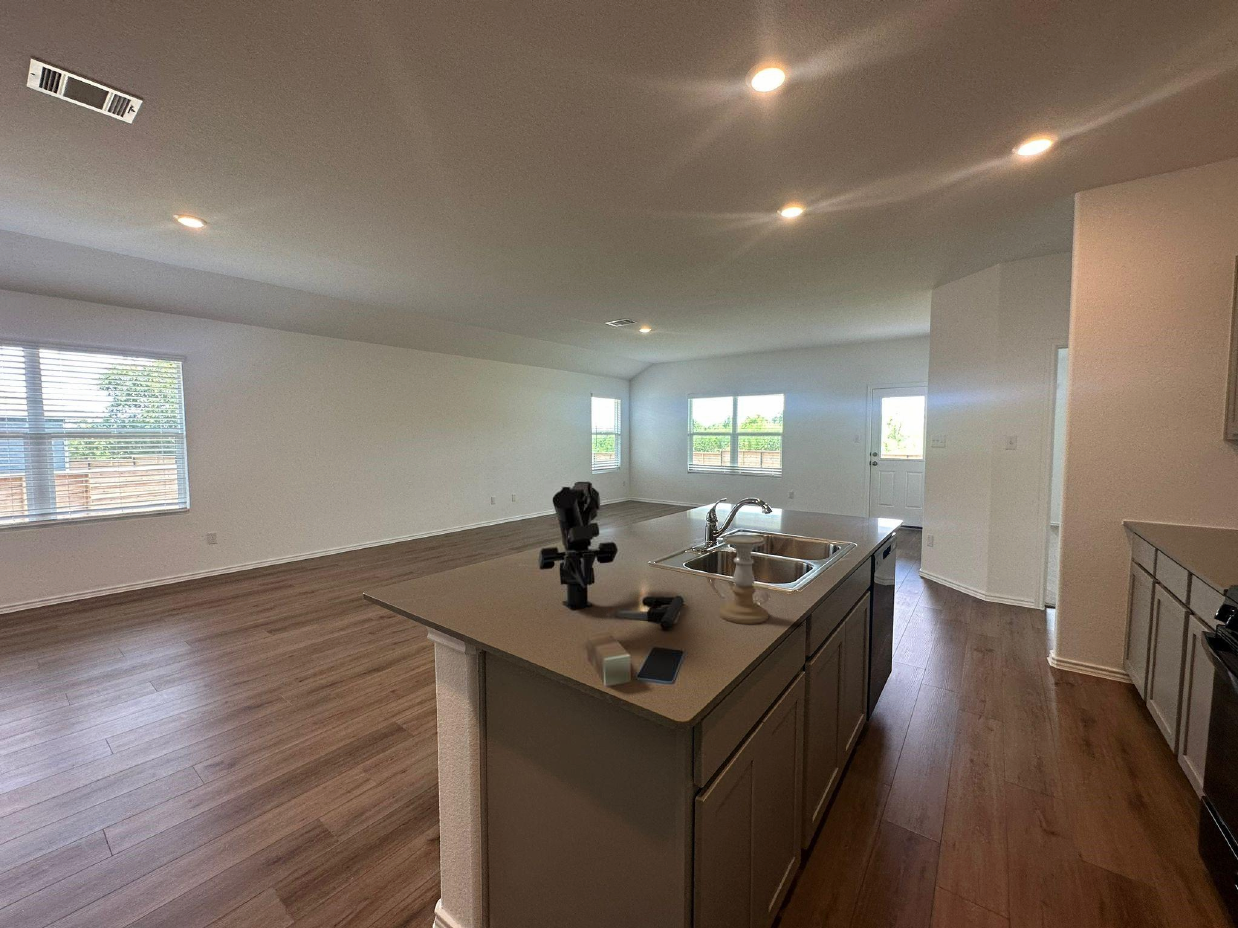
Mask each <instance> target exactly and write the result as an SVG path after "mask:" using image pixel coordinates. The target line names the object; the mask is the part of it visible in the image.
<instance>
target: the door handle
mask: <svg viewBox="0 0 1238 928" xmlns="http://www.w3.org/2000/svg"><path fill="white" fill-rule="evenodd" d="M685 602H687V601H686V600H685V599H684V598H683V596H681V595H675V596H644V597H643V599H642V605H643V606H644V607H649V609H648V610H647V611H642V610H637V611H636V610H619V611H618V612H617V618H618V619H625V620H636V621H637V620H638V621H647V622H649V623H660V624H659V626H660V629H661V630H663V631H664V632H665V631H666V632H667V631H669V630H671V629H672V628H673V626H674V625H675V624H677V621H678V619H679V616H680V614H681V612H682V608H683V606H684V605H685V604H684V603H685ZM658 607H660V608H658Z"/></svg>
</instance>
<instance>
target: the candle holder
mask: <svg viewBox="0 0 1238 928" xmlns="http://www.w3.org/2000/svg"><path fill="white" fill-rule="evenodd" d="M722 542H723V543H725V544H726V545H730V546H732V547H733V549H734V550H735V551H736V557H735V558H734V559H733V562H734V563H735V569H734V573H733V576H732V581H733V583H734V586H732V588H731V590H732V592H733V594H734V598H733V600H732V601H728V602H726V604H724V605H722V606H720V607H719V611H718V613H719V616H720V617H721V618H722V619H723V620H726V621H729V622H732V623H736V624H742V625H754V624H760V623H764V622H765V621H767V620H768V618H769V612H768V610H767V609H766V608H764V607H763V606H761V605H760V604H759V603H757V602H754V597H753V595H754V594H755V593H756V588H755V587H754V586H753V585H754V583H755V582H756V580H755V579H756V578H755V576H754V572H753V568H752V564H754V562H755V561H754V559H753V558H752V556H751V554H752V551H754V550H755V547H760V546H763V545H764V544H765V543H766V540H765V538H763V537H761V536H758V535H752V534H729V535H726V536H724V537H723V538H722ZM763 621H764V622H763Z"/></svg>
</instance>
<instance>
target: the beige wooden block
mask: <svg viewBox="0 0 1238 928" xmlns="http://www.w3.org/2000/svg"><path fill="white" fill-rule="evenodd" d="M586 640H587V641H586V642H587V643H586V645H587V646H586V647H587V648H586V649H587V650H586V651H587V652H586V653H587V655H586V656H587V662H588V663H589V664H590V666H591V667H592V669H593V670H594V671H595V674H597V676H598V678H599V679H600V680H601V682H602V684H603V685H604V686H605V687H610V686H615V685H619V684H620V685H621V684H625V683H631V681H632V680H631V677H632V676H631V674H632V673H631V672H632V671H631V668H632V667H631V655H630V654H629V652H628V651H626V649H625V648H624V647H623V646H622V645H621V644H620V643H619V642H618V640H617V639H616V638H615V637H614V636H613V635H612V633H611V632H607V633H602V634H601V633H600V634H599V633H598V634H594V635H587V636H586Z"/></svg>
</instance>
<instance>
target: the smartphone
mask: <svg viewBox="0 0 1238 928" xmlns="http://www.w3.org/2000/svg"><path fill="white" fill-rule="evenodd" d="M684 655H685V651H684V650H682V649H677V648H676V649H675V648H666V647H658V646H657V647H652V648H650V651H649V652H648V655H647V656H646V658H645V660H644V661H643V663H642V665H641V667H640V669H639V670H638V672H637V675H636V679H637V680H639V681H641V682H642V681H643V682H651V683H657V684H665V685H670V684H673V683H674V682H675V680H676V677H677V675H678V671H679V670H680V667H681V664H682V661H683V659H684V657H685V656H684Z"/></svg>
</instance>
